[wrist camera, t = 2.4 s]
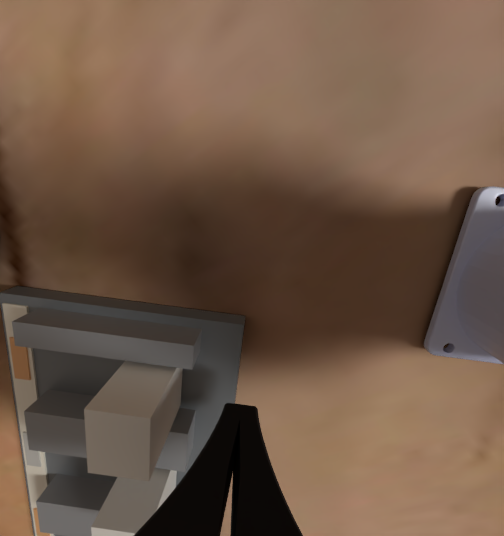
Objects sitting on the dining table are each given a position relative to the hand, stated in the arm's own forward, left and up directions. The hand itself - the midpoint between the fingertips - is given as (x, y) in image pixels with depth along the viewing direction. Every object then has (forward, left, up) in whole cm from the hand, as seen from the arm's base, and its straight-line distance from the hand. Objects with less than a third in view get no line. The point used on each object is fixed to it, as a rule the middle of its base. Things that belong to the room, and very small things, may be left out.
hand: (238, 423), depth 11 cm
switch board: (+6, +6, -3) cm, 9 cm away
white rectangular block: (+4, +6, -2) cm, 8 cm away
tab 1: (+4, 0, -2) cm, 5 cm away
